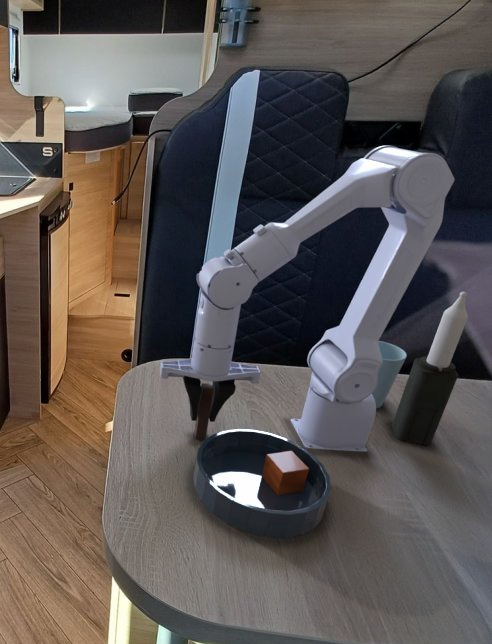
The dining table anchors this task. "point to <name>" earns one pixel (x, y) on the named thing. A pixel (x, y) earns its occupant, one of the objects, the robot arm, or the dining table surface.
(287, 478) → the block
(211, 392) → the stick
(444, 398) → the candle
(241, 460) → the bowl
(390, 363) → the cup
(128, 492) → the dining table surface
